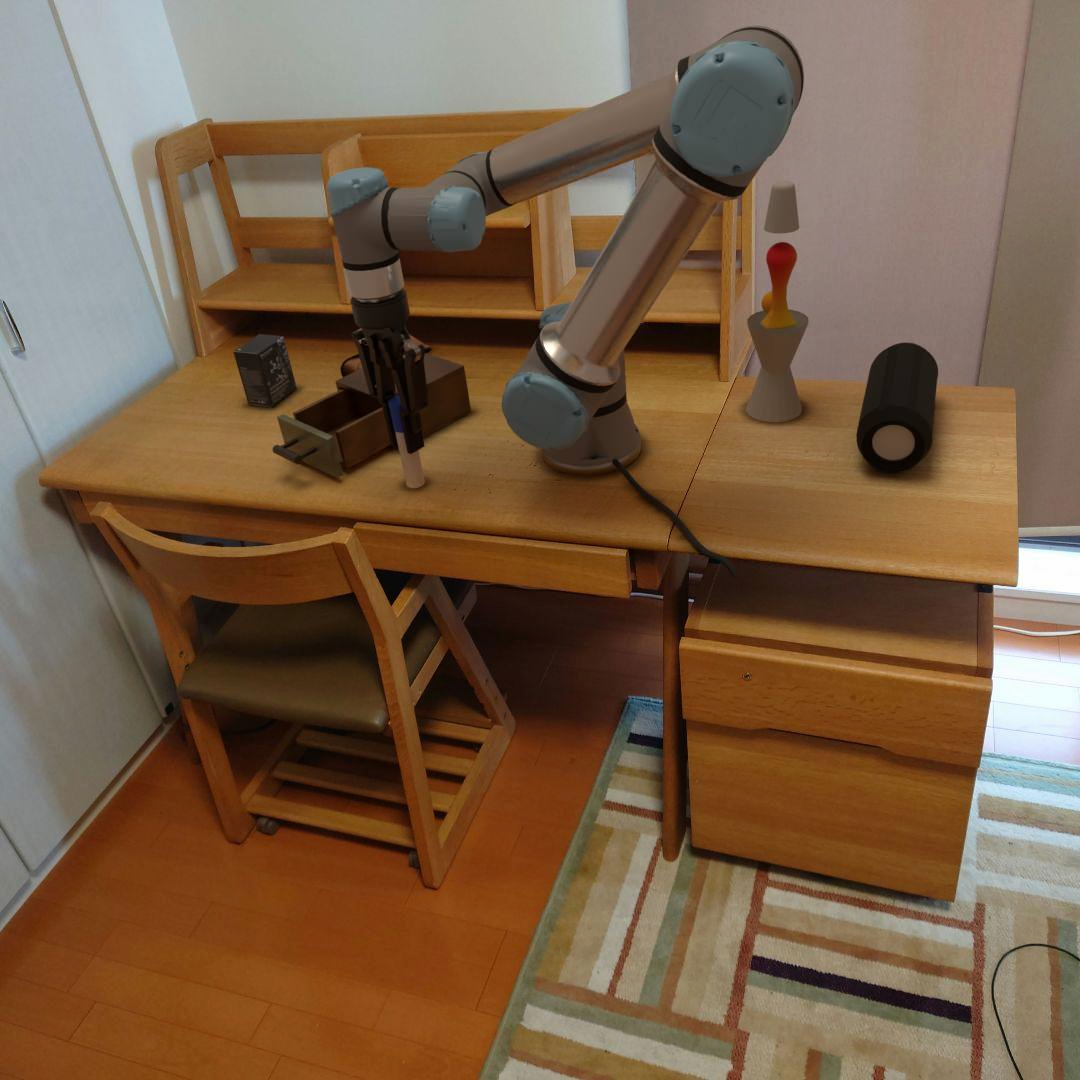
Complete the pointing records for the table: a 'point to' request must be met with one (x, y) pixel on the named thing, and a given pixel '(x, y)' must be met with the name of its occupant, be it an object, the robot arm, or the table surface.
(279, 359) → the box
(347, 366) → the sunglasses case
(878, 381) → the portable speaker
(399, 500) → the table surface
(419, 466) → the marker
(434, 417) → the cabinet
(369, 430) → the drawer
